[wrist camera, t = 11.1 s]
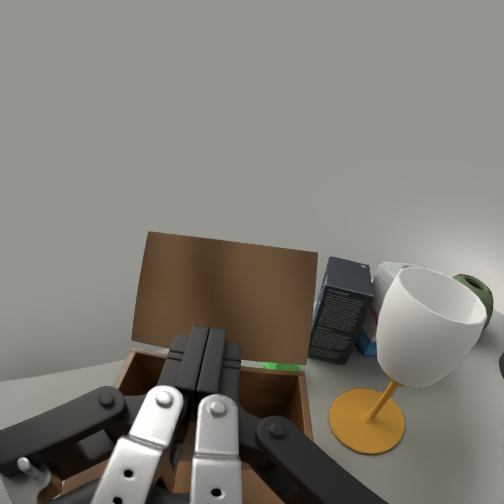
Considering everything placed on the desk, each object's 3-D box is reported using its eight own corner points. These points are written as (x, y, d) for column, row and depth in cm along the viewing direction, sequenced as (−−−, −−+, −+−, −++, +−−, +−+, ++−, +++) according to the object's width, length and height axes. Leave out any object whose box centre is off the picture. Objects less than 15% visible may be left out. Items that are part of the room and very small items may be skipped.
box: (310, 320, 39) (329, 254, 35) (347, 329, 38) (370, 265, 33) (302, 356, 32) (325, 282, 28) (345, 366, 31) (376, 295, 26)
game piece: (302, 384, 28) (317, 345, 25) (263, 383, 28) (273, 344, 25) (297, 357, 32) (309, 319, 29) (262, 355, 31) (270, 316, 29)
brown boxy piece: (102, 557, 7) (42, 545, 3) (146, 406, 22) (130, 338, 18) (284, 586, 7) (331, 597, 3) (281, 426, 22) (307, 363, 19)
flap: (148, 230, 20) (149, 232, 21) (131, 340, 18) (133, 339, 19) (318, 252, 20) (316, 253, 21) (306, 365, 19) (305, 364, 19)
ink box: (363, 358, 32) (397, 280, 27) (350, 334, 37) (377, 260, 32) (410, 352, 33) (445, 281, 29) (396, 331, 38) (424, 263, 33)
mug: (439, 297, 49) (454, 261, 46) (484, 324, 40) (502, 288, 37) (416, 324, 40) (436, 280, 36) (473, 360, 31) (499, 316, 27)
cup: (326, 386, 28) (378, 257, 21) (395, 390, 27) (458, 273, 20) (329, 455, 19) (418, 324, 13) (410, 451, 19) (508, 330, 12)
